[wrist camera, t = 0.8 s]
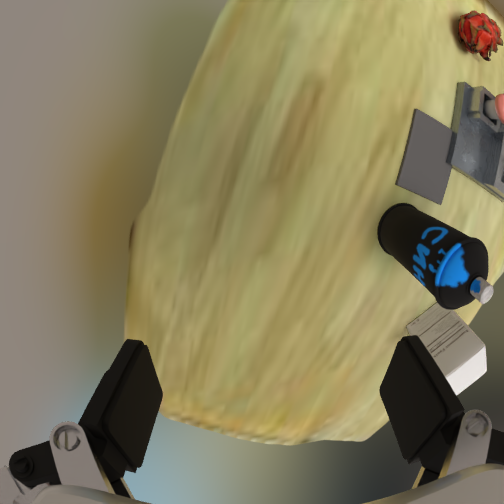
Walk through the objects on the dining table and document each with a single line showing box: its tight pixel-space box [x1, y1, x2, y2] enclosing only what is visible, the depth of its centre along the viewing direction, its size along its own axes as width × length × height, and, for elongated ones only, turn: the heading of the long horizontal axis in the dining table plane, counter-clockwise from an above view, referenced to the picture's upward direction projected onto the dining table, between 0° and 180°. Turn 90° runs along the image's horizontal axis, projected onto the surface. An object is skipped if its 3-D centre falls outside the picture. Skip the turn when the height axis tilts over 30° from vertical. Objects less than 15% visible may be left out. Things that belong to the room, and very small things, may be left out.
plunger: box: [484, 94, 504, 124], centre depth 22 cm, size 5×5×4 cm
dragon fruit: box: [458, 11, 503, 61], centre depth 20 cm, size 8×8×12 cm
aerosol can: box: [378, 203, 493, 310], centre depth 27 cm, size 8×8×20 cm
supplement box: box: [406, 302, 487, 395], centre depth 36 cm, size 9×9×15 cm
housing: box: [446, 82, 504, 202], centre depth 28 cm, size 15×18×5 cm
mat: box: [396, 109, 453, 205], centre depth 32 cm, size 12×9×1 cm
